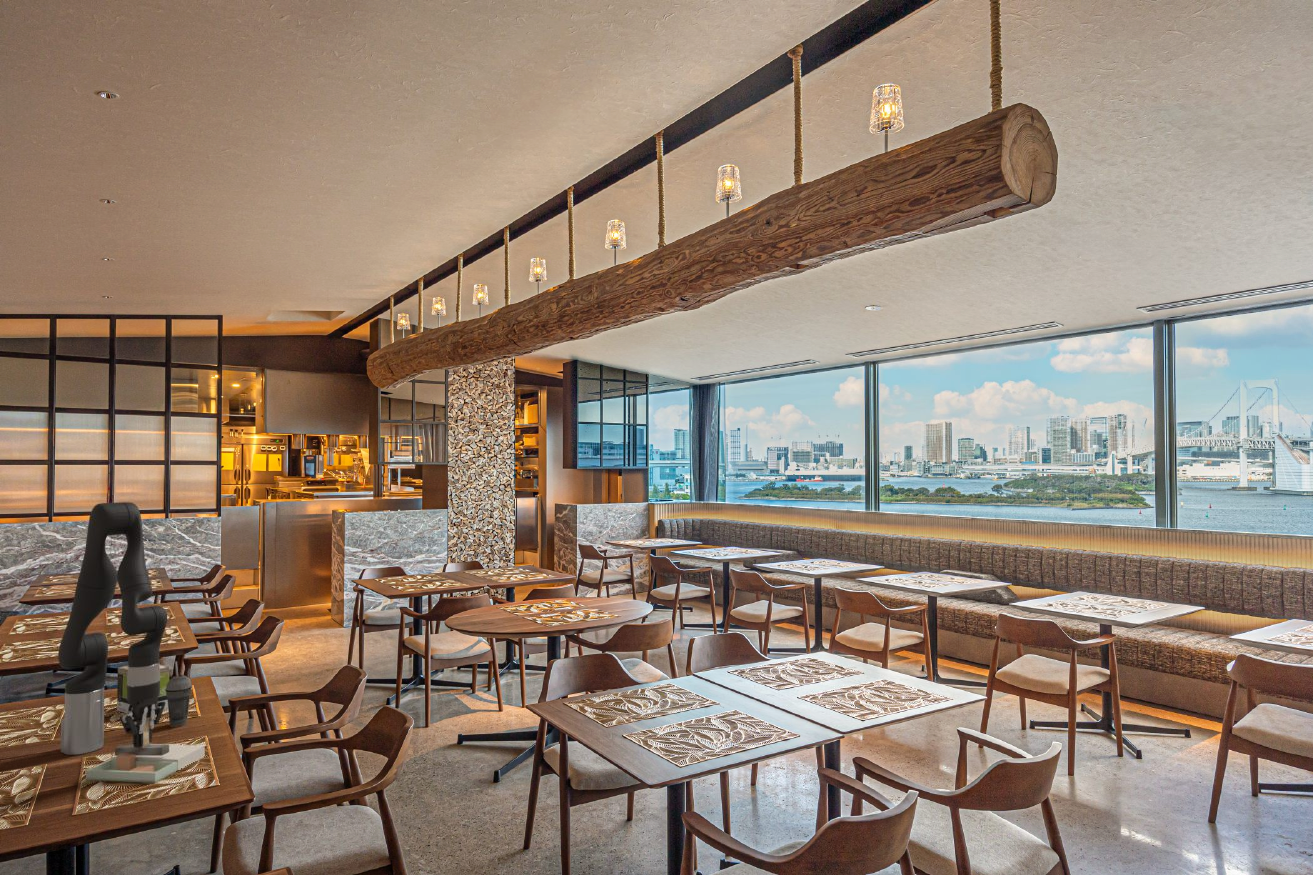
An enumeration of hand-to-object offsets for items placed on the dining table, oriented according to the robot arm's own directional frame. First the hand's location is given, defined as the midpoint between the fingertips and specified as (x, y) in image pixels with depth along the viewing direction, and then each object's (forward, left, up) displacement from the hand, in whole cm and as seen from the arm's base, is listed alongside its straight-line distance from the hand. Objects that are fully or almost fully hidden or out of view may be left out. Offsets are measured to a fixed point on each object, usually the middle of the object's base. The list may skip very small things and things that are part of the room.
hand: (142, 744), depth 204 cm
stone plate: (+1, +5, -6) cm, 8 cm away
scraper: (0, 0, -2) cm, 2 cm away
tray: (+1, -4, -6) cm, 8 cm away
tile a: (-3, -1, -4) cm, 5 cm away
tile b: (+4, -5, -4) cm, 8 cm away
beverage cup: (-17, +34, -7) cm, 38 cm away
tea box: (-41, +47, -7) cm, 62 cm away
